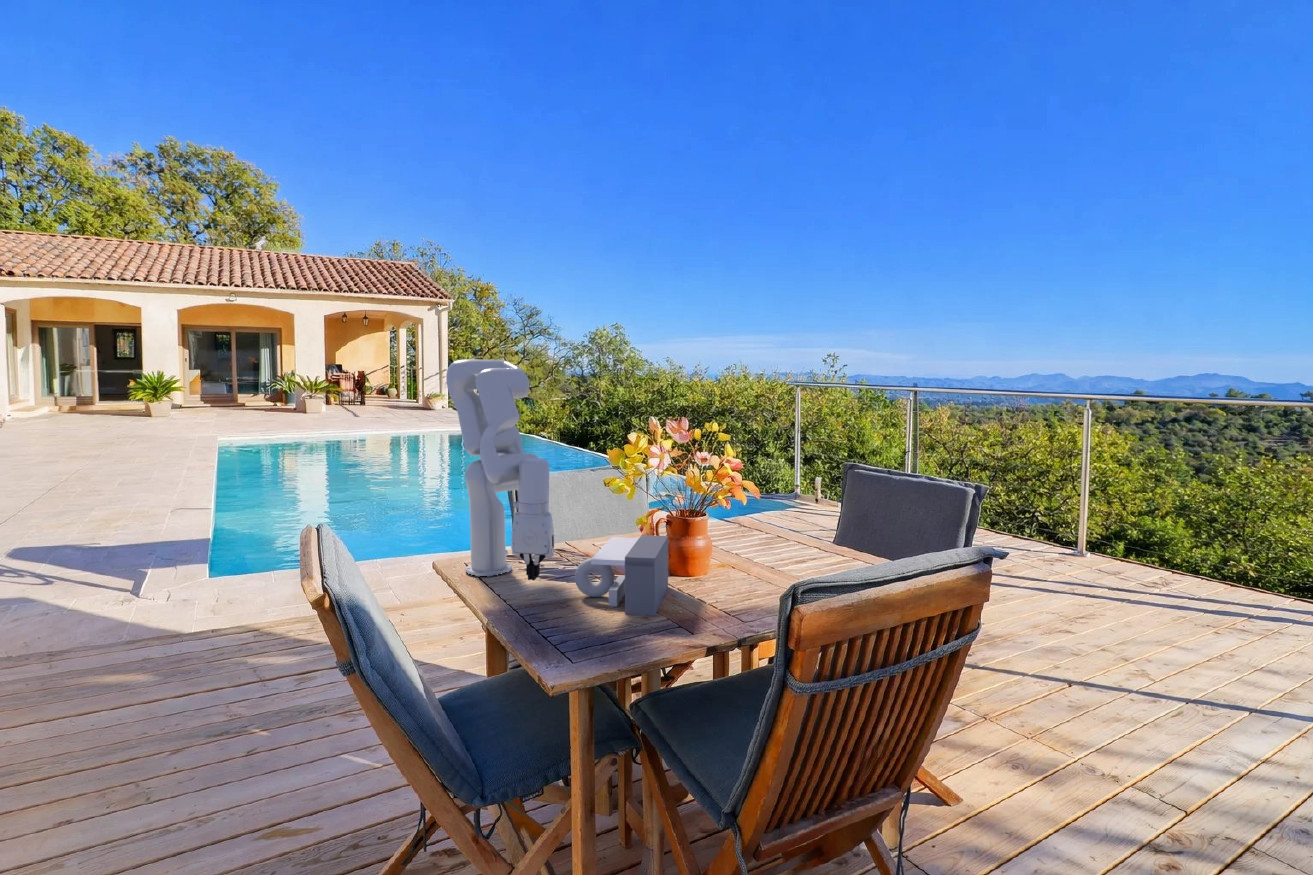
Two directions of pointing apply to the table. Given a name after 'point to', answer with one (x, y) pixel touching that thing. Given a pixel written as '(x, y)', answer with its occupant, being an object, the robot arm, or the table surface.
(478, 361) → the robot arm
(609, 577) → the donut
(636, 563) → the ledge cabinet
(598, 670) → the table surface
